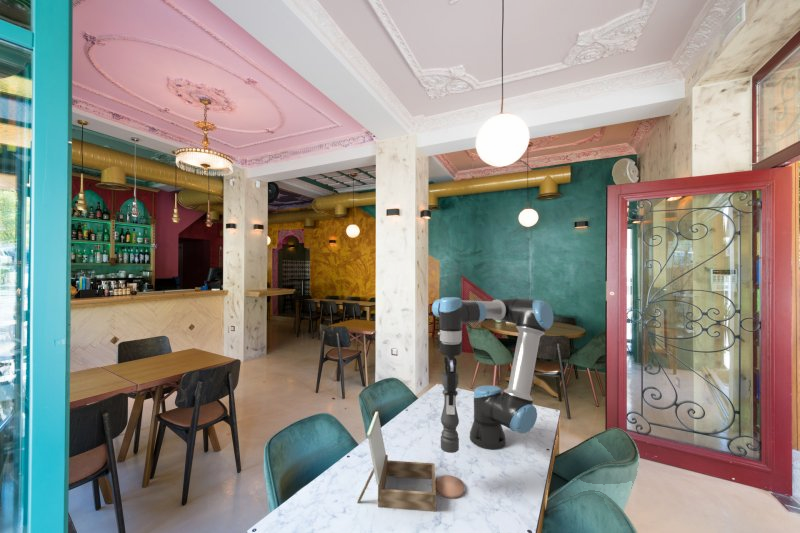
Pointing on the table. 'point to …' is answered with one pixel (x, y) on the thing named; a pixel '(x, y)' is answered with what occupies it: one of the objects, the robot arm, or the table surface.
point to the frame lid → (376, 446)
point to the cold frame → (404, 497)
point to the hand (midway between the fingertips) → (449, 410)
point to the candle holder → (449, 421)
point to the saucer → (449, 486)
